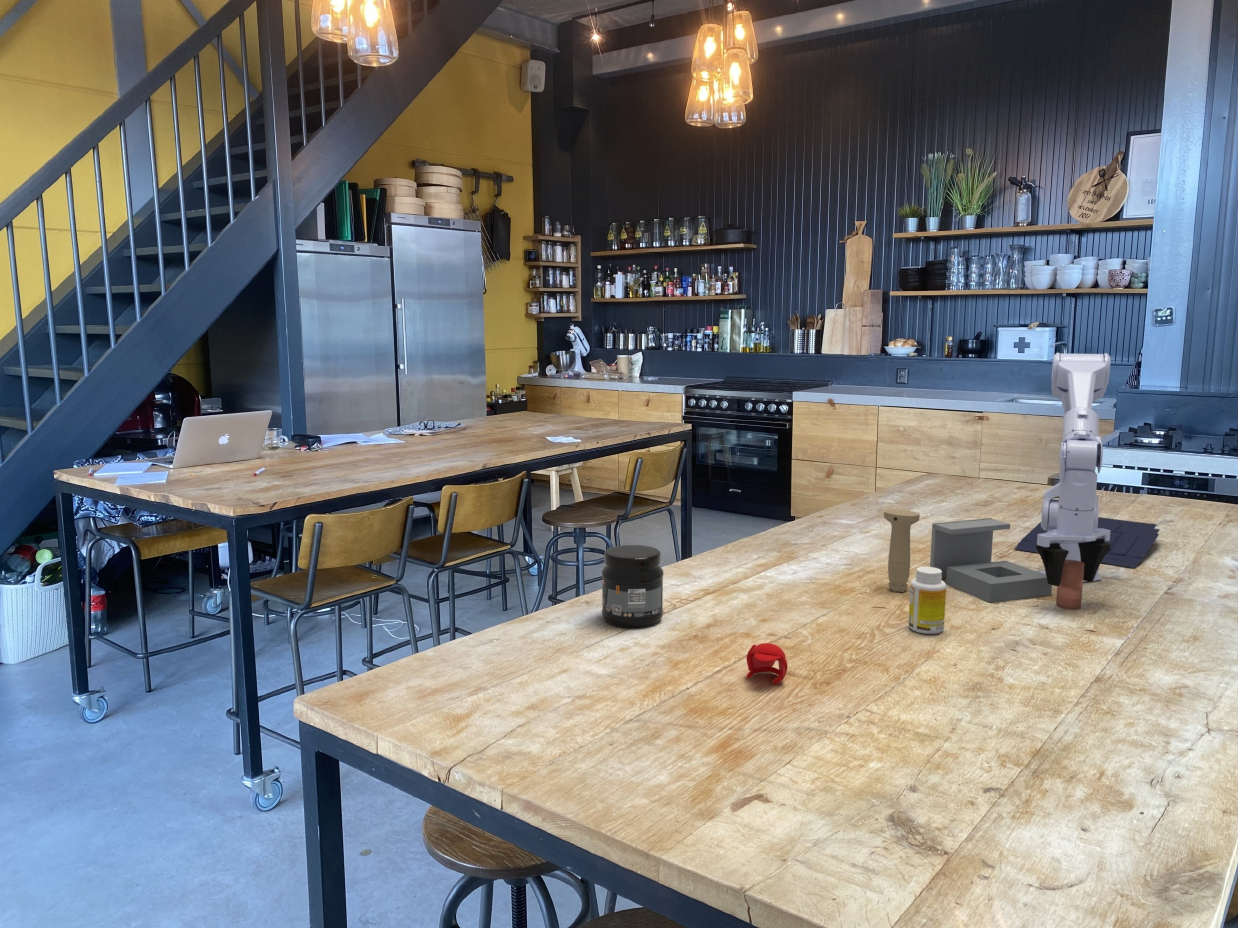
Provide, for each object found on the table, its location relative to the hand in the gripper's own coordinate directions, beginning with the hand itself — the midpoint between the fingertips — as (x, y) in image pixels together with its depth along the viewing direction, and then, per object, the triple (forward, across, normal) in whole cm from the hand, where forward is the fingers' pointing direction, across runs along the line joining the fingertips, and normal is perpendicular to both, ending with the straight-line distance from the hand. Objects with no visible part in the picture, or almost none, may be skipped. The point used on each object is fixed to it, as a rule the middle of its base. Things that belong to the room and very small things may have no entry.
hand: (1070, 582), depth 162 cm
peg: (+4, 0, 0) cm, 4 cm away
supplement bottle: (+5, -32, -2) cm, 32 cm away
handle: (+4, -23, +18) cm, 30 cm away
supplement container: (+5, -76, +19) cm, 78 cm away
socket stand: (+4, -5, +15) cm, 16 cm away
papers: (+4, +38, +32) cm, 50 cm away
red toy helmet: (+5, -67, -12) cm, 68 cm away
